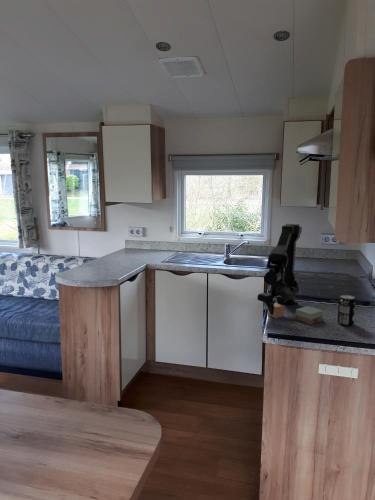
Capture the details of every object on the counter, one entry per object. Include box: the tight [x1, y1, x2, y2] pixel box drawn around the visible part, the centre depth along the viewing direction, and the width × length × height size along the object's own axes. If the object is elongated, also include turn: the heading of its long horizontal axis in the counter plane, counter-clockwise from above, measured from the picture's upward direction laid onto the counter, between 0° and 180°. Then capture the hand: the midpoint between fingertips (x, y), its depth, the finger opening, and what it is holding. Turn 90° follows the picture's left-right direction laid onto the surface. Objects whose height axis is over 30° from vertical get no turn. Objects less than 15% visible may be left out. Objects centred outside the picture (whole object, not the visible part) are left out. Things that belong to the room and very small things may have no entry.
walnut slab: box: [295, 314, 324, 325], centre depth 171 cm, size 8×8×2 cm
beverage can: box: [336, 294, 357, 327], centre depth 165 cm, size 7×7×12 cm
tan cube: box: [267, 302, 285, 319], centre depth 176 cm, size 5×5×5 cm
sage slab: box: [295, 305, 323, 320], centre depth 171 cm, size 8×8×2 cm
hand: (275, 313), depth 176 cm, fingers closed on tan cube, 5 cm apart
